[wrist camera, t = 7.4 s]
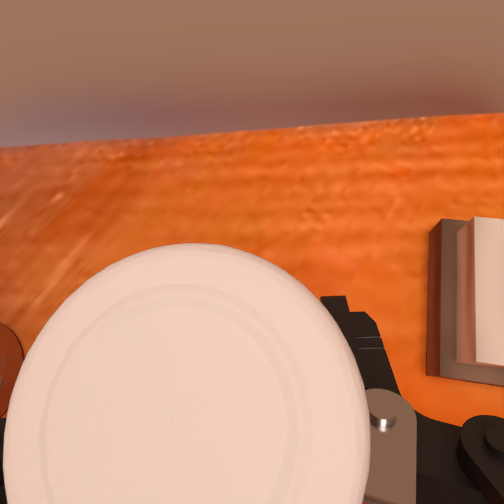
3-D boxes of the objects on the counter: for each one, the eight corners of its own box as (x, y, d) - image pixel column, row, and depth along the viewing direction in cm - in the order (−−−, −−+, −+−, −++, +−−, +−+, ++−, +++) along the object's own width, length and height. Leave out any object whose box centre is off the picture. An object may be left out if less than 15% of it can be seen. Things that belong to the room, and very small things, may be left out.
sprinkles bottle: (267, 310, 18) (184, 167, 5) (342, 382, 17) (475, 425, 4) (199, 382, 17) (-83, 419, 5) (270, 462, 16) (147, 824, 3)
